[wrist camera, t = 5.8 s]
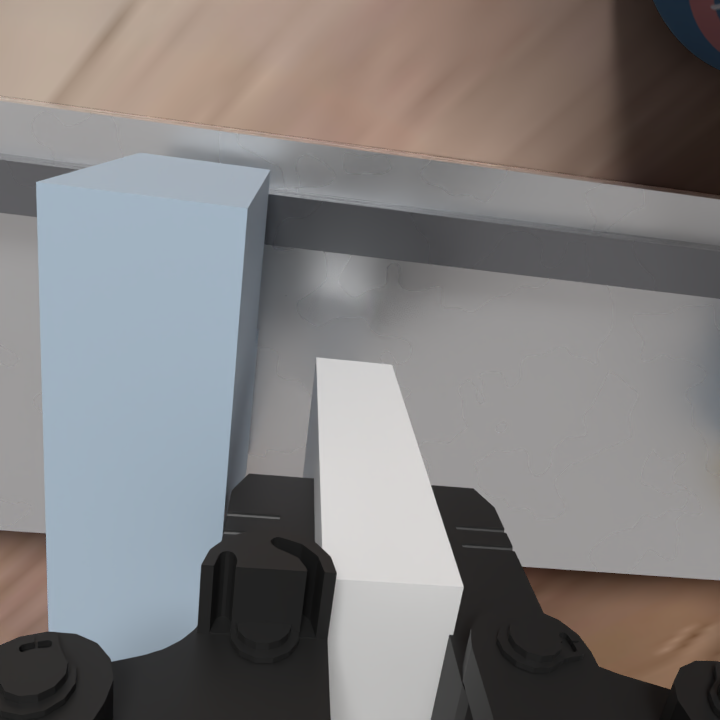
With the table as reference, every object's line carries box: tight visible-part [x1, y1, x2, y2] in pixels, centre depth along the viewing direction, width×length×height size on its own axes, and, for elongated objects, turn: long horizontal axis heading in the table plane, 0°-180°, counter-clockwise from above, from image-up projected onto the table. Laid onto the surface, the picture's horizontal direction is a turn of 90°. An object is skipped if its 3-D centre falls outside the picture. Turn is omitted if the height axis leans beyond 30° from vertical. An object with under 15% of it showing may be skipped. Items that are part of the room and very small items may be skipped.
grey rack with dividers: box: [0, 96, 720, 580], centre depth 14 cm, size 10×30×8 cm, turn 82°
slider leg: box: [36, 153, 271, 662], centre depth 12 cm, size 9×2×6 cm, turn 172°
